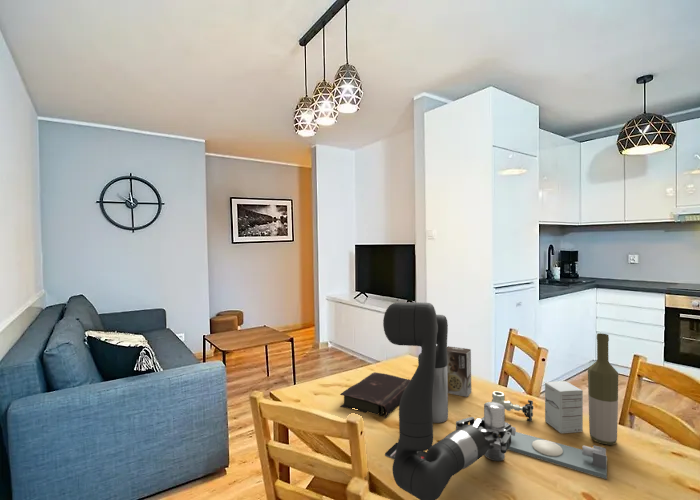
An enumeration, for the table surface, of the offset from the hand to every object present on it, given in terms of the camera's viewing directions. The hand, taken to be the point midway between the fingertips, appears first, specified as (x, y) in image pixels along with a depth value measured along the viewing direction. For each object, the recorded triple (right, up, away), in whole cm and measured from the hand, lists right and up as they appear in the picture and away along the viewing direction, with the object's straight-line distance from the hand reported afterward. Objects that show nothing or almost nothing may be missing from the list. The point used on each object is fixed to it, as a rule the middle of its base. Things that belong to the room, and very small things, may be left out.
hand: (499, 423), depth 96 cm
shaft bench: (+13, -8, 0) cm, 15 cm away
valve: (+12, -8, +20) cm, 25 cm away
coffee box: (+1, -7, +40) cm, 40 cm away
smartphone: (-23, -9, -1) cm, 24 cm away
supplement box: (+25, -7, +13) cm, 29 cm away
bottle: (+31, -7, +5) cm, 33 cm away
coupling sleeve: (-2, -8, -1) cm, 8 cm away
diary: (-30, -9, +36) cm, 47 cm away
